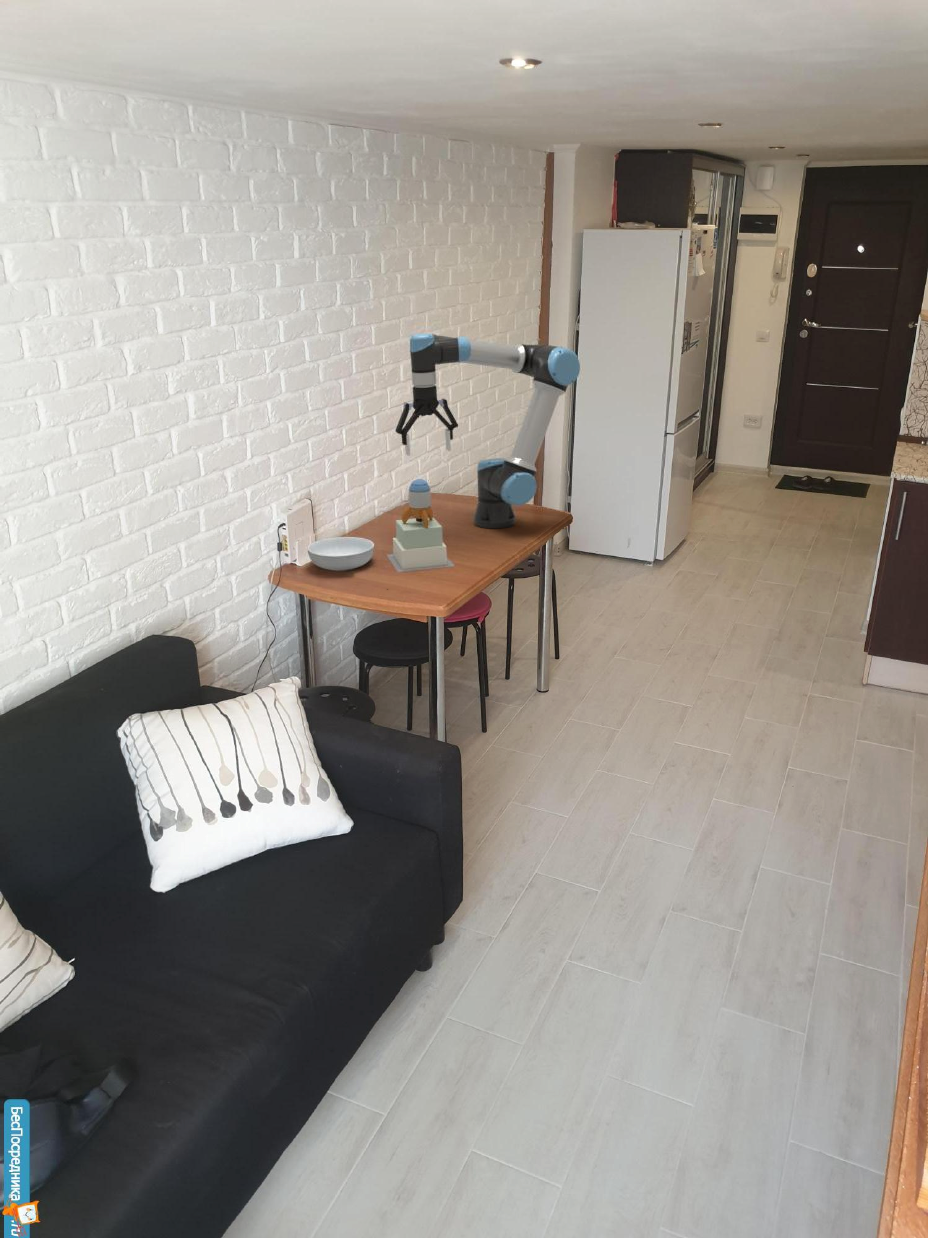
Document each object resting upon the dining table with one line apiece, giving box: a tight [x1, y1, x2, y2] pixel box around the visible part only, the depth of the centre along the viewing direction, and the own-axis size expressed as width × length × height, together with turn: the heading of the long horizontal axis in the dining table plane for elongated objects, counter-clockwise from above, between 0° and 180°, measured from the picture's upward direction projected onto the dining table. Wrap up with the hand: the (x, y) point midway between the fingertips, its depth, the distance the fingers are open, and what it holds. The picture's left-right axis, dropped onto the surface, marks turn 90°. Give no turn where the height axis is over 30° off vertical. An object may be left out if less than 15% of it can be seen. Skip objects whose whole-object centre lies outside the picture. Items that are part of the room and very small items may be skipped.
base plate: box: [386, 553, 455, 573], centre depth 300 cm, size 18×18×1 cm
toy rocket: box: [401, 478, 434, 528], centre depth 292 cm, size 10×11×15 cm
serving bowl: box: [307, 536, 375, 572], centre depth 298 cm, size 21×21×7 cm
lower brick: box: [392, 537, 448, 569], centre depth 299 cm, size 14×14×6 cm
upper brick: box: [395, 517, 444, 549], centre depth 296 cm, size 12×12×6 cm
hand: (428, 452), depth 306 cm, fingers open, 13 cm apart
